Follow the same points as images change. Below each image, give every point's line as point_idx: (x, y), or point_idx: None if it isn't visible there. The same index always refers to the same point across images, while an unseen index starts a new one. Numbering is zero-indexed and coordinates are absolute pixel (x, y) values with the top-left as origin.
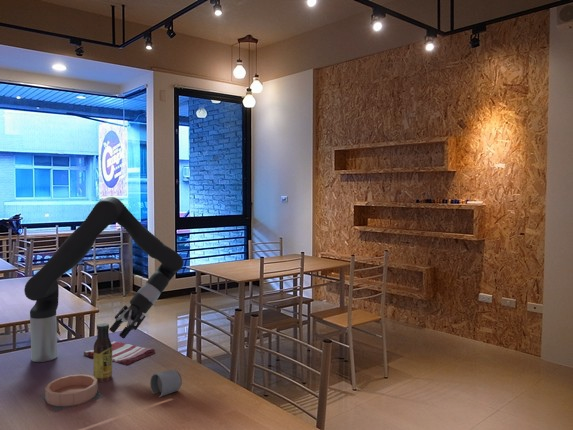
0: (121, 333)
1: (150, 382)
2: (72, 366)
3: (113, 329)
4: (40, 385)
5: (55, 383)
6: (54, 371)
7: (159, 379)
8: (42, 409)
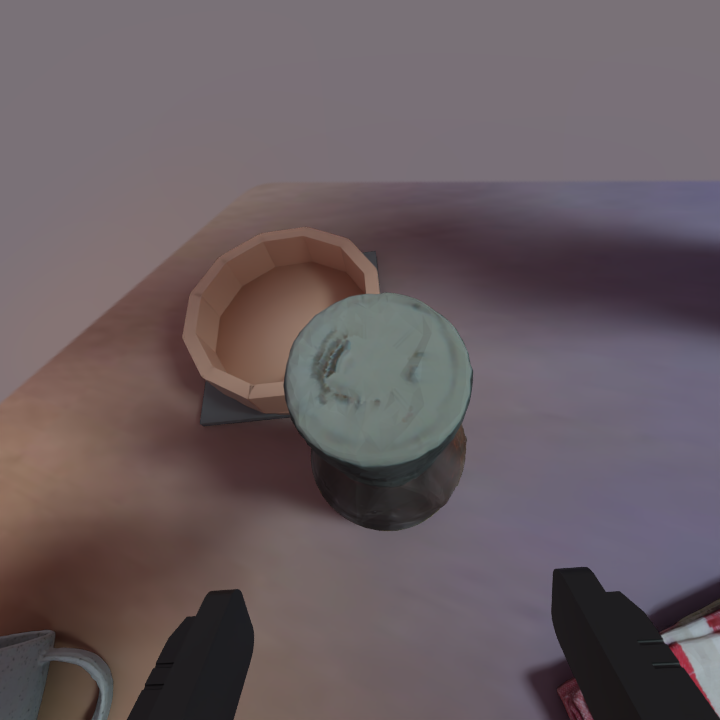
0: (197, 621)
1: (27, 641)
2: (674, 402)
3: (570, 633)
4: (483, 264)
5: (352, 265)
6: (629, 323)
7: None
8: None
